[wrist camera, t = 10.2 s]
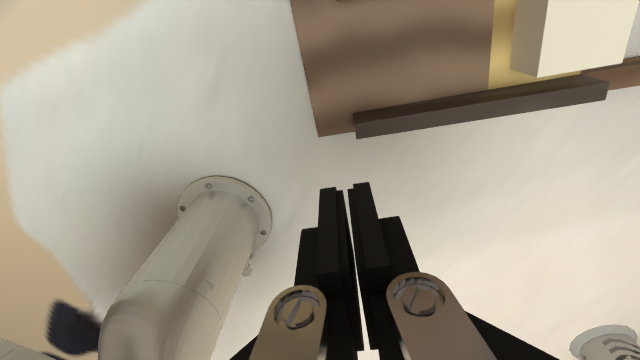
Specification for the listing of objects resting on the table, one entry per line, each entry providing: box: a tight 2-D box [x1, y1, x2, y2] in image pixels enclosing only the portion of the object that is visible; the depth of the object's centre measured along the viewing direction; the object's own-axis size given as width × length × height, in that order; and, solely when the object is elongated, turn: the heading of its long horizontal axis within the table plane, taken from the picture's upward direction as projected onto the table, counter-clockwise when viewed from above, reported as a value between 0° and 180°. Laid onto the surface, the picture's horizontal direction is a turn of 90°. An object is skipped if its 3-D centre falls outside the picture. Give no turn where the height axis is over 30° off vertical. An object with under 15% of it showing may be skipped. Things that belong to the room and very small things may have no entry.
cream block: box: [509, 0, 639, 78], centre depth 24 cm, size 6×6×4 cm
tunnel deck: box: [290, 0, 640, 139], centre depth 26 cm, size 14×35×6 cm, turn 101°
